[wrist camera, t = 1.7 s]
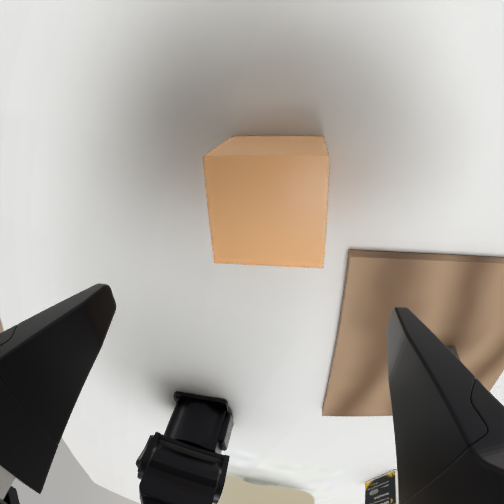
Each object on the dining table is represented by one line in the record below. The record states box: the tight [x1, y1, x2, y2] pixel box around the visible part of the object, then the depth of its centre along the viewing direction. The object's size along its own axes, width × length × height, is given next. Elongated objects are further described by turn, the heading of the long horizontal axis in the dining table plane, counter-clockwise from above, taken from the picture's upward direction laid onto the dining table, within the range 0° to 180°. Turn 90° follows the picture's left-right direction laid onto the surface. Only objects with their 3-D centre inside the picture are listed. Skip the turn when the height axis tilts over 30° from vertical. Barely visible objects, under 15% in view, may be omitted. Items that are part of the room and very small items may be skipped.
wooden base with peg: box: [322, 250, 504, 416], centre depth 22 cm, size 20×20×8 cm
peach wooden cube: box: [203, 136, 329, 268], centre depth 18 cm, size 6×6×6 cm
